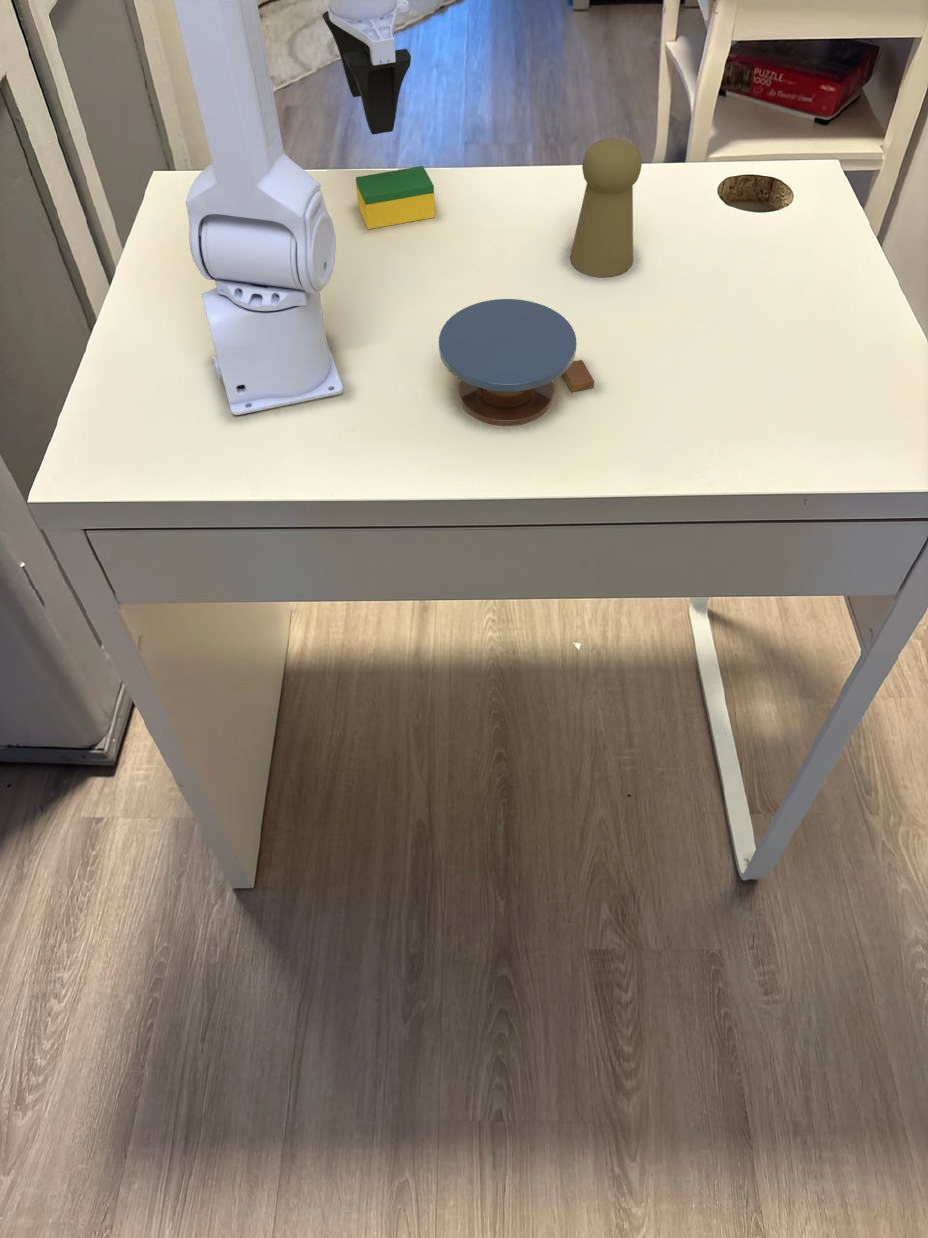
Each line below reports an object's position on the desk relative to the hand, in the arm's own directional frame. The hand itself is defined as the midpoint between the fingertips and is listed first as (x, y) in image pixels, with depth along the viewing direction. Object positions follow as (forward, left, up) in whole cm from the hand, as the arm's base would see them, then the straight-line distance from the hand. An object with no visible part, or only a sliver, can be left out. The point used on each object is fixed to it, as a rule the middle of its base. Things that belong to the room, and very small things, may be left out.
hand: (371, 112), depth 93 cm
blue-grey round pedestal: (+3, -32, -9) cm, 33 cm away
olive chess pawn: (+18, -16, -10) cm, 26 cm away
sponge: (+1, -2, -9) cm, 10 cm away
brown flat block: (+9, -32, -9) cm, 34 cm away
